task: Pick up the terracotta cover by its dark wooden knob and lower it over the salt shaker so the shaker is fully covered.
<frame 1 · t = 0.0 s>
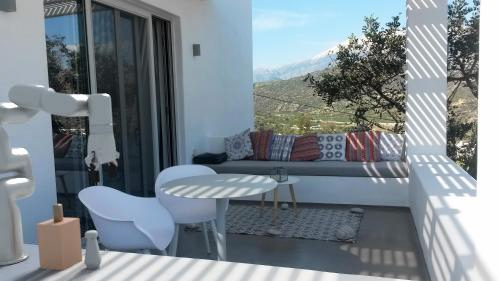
hand: (104, 179, 151), 31 cm above the table, tool pointing down, fingers open, 9 cm apart
cover: (61, 264, 160), on the table
salt shaker: (93, 267, 155), on the table
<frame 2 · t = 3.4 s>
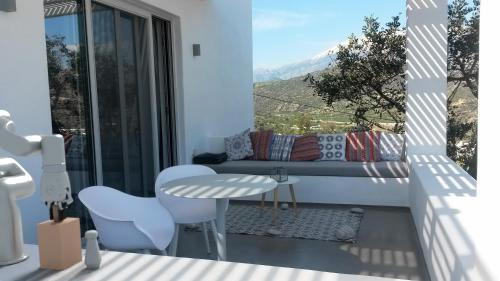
hand: (58, 219, 158), 17 cm above the table, tool pointing down, fingers closed on cover, 3 cm apart
cover: (61, 264, 160), on the table, touching gripper
everything else where it was.
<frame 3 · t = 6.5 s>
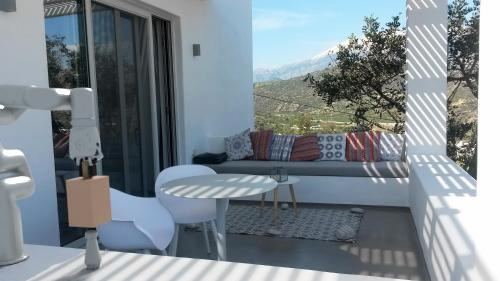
hand: (87, 176, 153), 33 cm above the table, tool pointing down, fingers closed on cover, 3 cm apart
cover: (90, 223, 154), point 16 cm above the table, touching gripper
everything else where it was.
when the fingers open (18 cm above the table, at t = 9.6 s): cover stays where it is, on the table.
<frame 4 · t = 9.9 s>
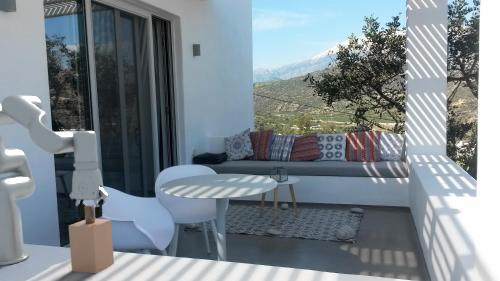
hand: (90, 216, 154), 18 cm above the table, tool pointing down, fingers open, 6 cm apart
cover: (93, 267, 155), on the table
everything else where it was.
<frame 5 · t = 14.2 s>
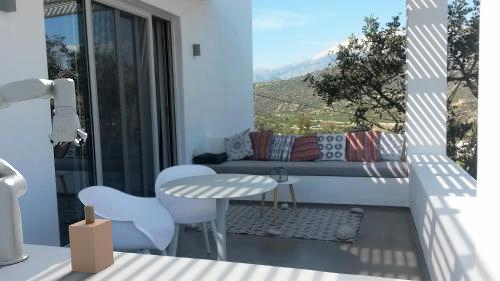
hand: (68, 156, 167), 38 cm above the table, tool pointing down, fingers open, 9 cm apart
nothing on the table moved.
at the end: cover 0.1 cm from the salt shaker (horizontally); cover on the table; salt shaker tilted 0° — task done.
